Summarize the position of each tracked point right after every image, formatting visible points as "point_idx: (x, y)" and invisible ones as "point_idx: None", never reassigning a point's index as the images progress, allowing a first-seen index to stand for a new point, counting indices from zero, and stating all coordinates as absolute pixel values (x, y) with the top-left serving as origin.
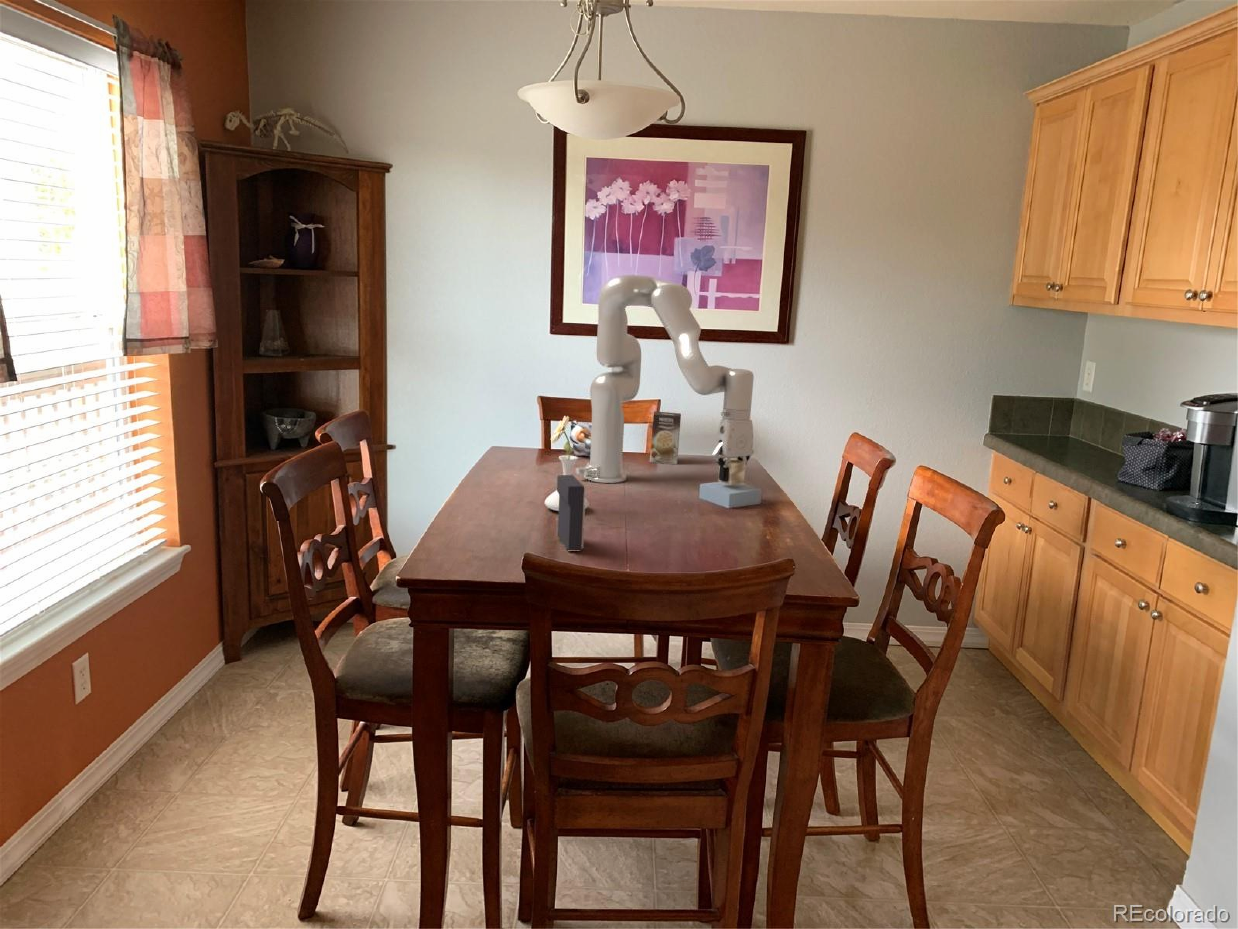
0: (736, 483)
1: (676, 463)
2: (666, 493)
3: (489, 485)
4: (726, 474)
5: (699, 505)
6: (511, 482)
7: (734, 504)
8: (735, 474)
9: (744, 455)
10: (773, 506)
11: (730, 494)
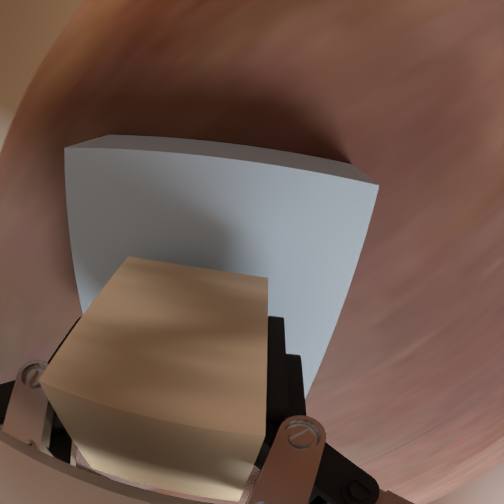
0: (203, 270)
1: (102, 476)
2: (335, 420)
3: (470, 477)
4: (284, 361)
5: (406, 281)
6: (443, 486)
7: (310, 158)
8: (209, 323)
9: (31, 458)
10: (96, 63)
11: (369, 182)
